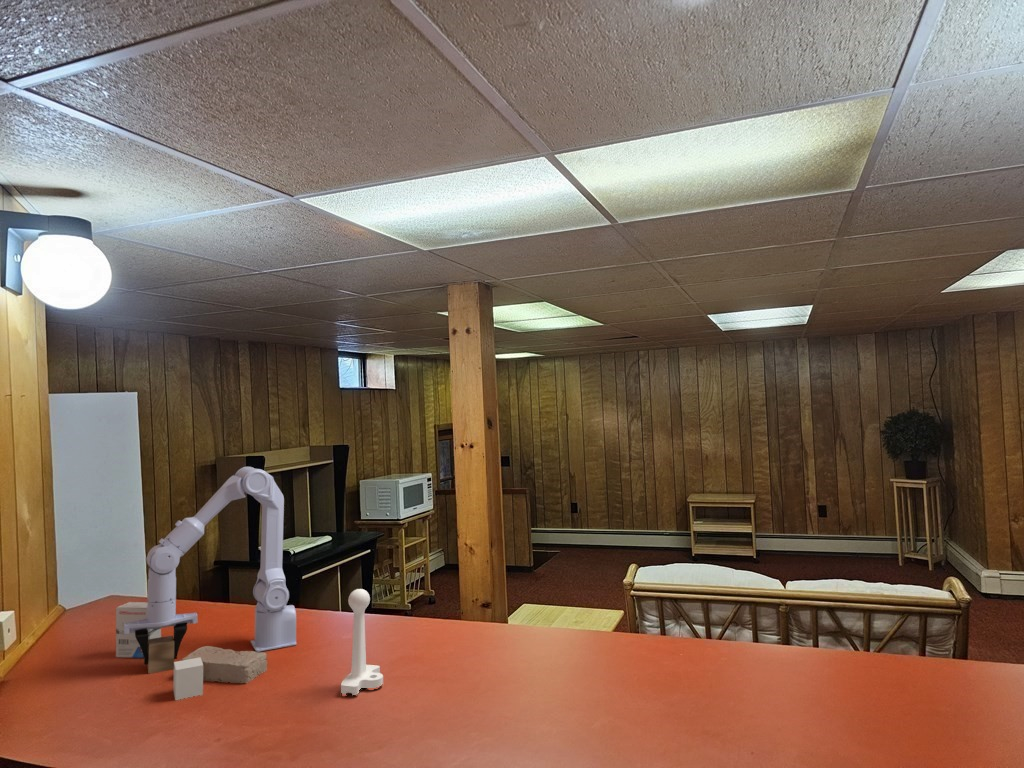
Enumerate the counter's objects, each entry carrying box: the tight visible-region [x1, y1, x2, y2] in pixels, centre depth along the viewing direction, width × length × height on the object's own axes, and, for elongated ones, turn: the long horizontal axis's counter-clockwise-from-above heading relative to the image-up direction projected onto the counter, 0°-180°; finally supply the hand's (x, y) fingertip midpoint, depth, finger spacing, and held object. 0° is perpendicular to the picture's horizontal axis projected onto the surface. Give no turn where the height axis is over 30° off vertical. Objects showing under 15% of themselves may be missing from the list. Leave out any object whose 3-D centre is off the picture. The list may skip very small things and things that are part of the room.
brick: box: [180, 645, 268, 684], centre depth 144 cm, size 17×8×5 cm, turn 79°
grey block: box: [172, 657, 204, 701], centre depth 134 cm, size 5×5×6 cm
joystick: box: [340, 588, 384, 696], centre depth 137 cm, size 11×8×20 cm
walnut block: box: [146, 634, 175, 675], centre depth 148 cm, size 5×5×6 cm
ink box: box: [115, 601, 162, 659], centre depth 156 cm, size 9×5×12 cm, turn 84°
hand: (160, 660), depth 148 cm, fingers closed on walnut block, 5 cm apart
